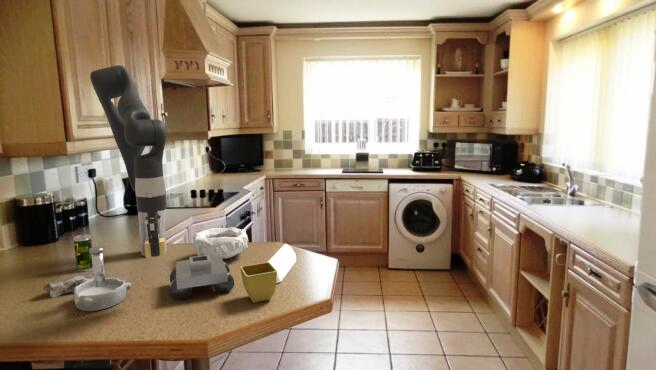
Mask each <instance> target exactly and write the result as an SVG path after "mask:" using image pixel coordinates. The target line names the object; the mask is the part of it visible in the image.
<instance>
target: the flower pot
mask: <svg viewBox="0 0 656 370" xmlns="http://www.w3.org/2000/svg"><path fill="white" fill-rule="evenodd" d="M239 269H240V274H241V280H242V285H243V287H244V289H245V292H246V293H247V295H248V297H249V298H250V300H251V302H252V303H254V304H255V303H259V301H260V302H264V301H269V300H271V299H272V298H273V296H274V294H275V291H276V288H277V283H276V280H277V270H276V269H275V268H274V267H273V266H272V265H271V263H269V262H268V261H266V262H261V263H255V264H248V265H242V266H240V267H239Z"/></svg>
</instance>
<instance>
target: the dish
mask: <svg viewBox="0 0 656 370" xmlns="http://www.w3.org/2000/svg"><path fill="white" fill-rule="evenodd" d="M105 281H106V285H105V286H103V287H95V285H94V280H90V281H87V282H85V283H82V284H80V285H79V286H77V287H76V288H75V289H74V293H73V299H74V304H75V306H76V308H77V309H78V310H80V311H83V312H93V311H94V312H95V311H100V310H106V309H107V308H110V307H113V306H116V305H118V304H119V303H121V302H123V301H124V300H125V299H126V297H127V291H130V290H131V287H132V284H131V282H126V280H121V279H119V278H118V277H117V278H116V277H105Z"/></svg>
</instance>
